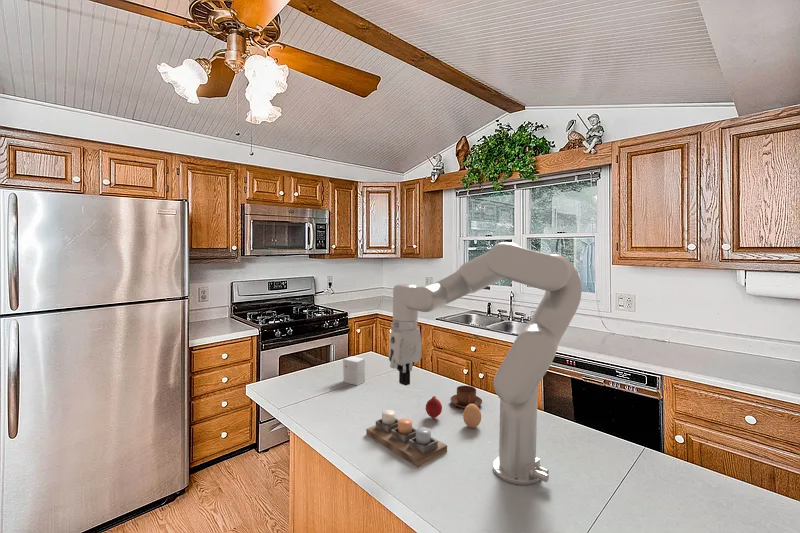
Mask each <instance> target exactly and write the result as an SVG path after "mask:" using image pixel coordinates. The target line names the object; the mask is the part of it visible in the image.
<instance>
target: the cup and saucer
mask: <svg viewBox="0 0 800 533" xmlns="http://www.w3.org/2000/svg"><path fill="white" fill-rule="evenodd" d="M450 402H451V403H452V404H453V406H455V407H458V408H461V409H465V408H466V406H467V405H469V404H475V405H476V406H477V407H478V408H479V407H480V406H481V405H482V403H483V400H482V398H481V397H479V396H477V389H476V388H475V387H474V386H471V385H460V386H458V387H457V386H456V394H454V395H453V396H451V397H450Z"/></svg>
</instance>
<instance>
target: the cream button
mask: <svg viewBox="0 0 800 533" xmlns="http://www.w3.org/2000/svg"><path fill="white" fill-rule="evenodd" d="M395 418H396V412H395V411H394V410H392V409H387V410H383V411H381V419H382V423H383V424H384V425H393V424H395Z"/></svg>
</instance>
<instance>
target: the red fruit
mask: <svg viewBox="0 0 800 533" xmlns="http://www.w3.org/2000/svg"><path fill="white" fill-rule="evenodd" d="M442 411H443V406H442V403H441V401H440V400H439V399H437V396H436V395H432V397H431V399H429V400H428V401H427V402H426V404H425V412H426V413H427V415H428V416H429V417H430V418H431V419H436V418H437V417H439V416H440V415H441V414H442Z"/></svg>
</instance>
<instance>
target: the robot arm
mask: <svg viewBox="0 0 800 533" xmlns="http://www.w3.org/2000/svg"><path fill="white" fill-rule="evenodd" d="M504 279H506V280H509V281H512V282H515V283H519V284H521V285H522V284H523V285H525V286H529V287H532V288H535V289H539V290H541V291H544V295H543V297H542V299H541V300H540V302H539V304H538V306H537V309H536V310H535V311H534V314H533V315H532V317H531V319H530V320H529V322H528V323H527V325H526V326H525V327H524V328H523V329H522V330H521V331H520V332H519V334H518V336H516V338H515V340H514V341H513V343H512V345H511V347H510V349H509V350H508V352H507V354H506V356H505V357H504V359H503V361H502V362H501V364H500V366H499V367H498V370H497V371H496V372H495V375H494V378H493V387H494V388H493V389H494V391H495V394H496V395H497V397H498V398H499V400H500V401H499V404H500V405H499V440H498V441H499V443H498V446H499V447H498V452H499V453H498V457H496V458H495V459H494V460H493V463H492V464H493V465H492V469H493V472H494V473H495V474H496V475H497V476H498V477H499V478H500V479H502V480H503V481H506V482H508V483H510V484H515V485H520V486H527V485H533V484H536V483H538V482H539V481H542V482H545V483H547V482H549V478H550V476H549V471H550V470H549V469H548V468H546V467H543V466H541V464H540V463H541V461H540V458H538V457H537V430H538V429H537V428H538V427H537V420H538V398H539V385H540V383H541V381H542V380H543V378H544V377H545V375H546V373H547V372H548V370H549V368H550V367H551V365H552V363H553V361H554V359H555V357H556V354H557V351H558V349H559V348H558V347H559V344H560V341H561V339H562V338H563V336H564V334H565V332H566V331H567V330H568V328H569V325H570V323H571V322H572V320H573V318H574V316H575V314H576V313H577V311H578V308H579V306H580V302H581V299H582V293H583V292H582V281H581V278H580V275H579V273H578V271H577V270H576V268H575V266H574V265H573V264H572V262H571V261H570V260H569V259H568V258H567V257H565V256H564V255H561V254H558V253H557V254H556V253H555V254H554V253H553V254H548V253H545V252H540V251H536V250H532V249H529V248H525V247H521V246H520V245H519V244H518V243H515V242H510V241H509V242H499V243H496V244H495V245H493V246H492V247H490V249H489V250H488V251H486V252H484V253H482V254H481V255H477V257H475V258H473V259H470V260H469V261H466V262H465V263H462V264H461V265H460V267H459V268H458V269H457V270H456V271H455V272H453V273H451V274H450V275H447V276H446V277H444V278H443V279H439V280H438V281H436V282H433V283H430V284H426V285H423V286H417V285H415V284H412V283H400V284H396V285H394V286H393V288H392V289H393V290H392V322H391V323H390V327H391V332H390V336H389V337H390V338H389V344H388V360H389V362H390V365H389V368H391V369H395V370H397V371H398V373H399V374H398V379H399V380H398V383H399V384H400V385H402V386H408V385H410V384H411V372H412V371H413V366H414V365H416V364H417V363H418V362H419V361H420V360H421V359H422V357H423V355H422V353H423V350H422V349H423V348H422V347H423V346H422V336H421V330H420V328H419V327H418V320H419V319H418V314H419V313H418V312H422V313H429V312H433V311H434V310H437V309H439V308H442V307H443V306H446V305H448V304H450V303H451V302H454V301H456V300H458V299H461V298H462V297H464V296H467V295H469V294H473V293H474V294H475V293H476V292H479V291H481V290H482V289H486V288H487V287H489V286H491V285H493V284H496V283H498V282H499V281H502V280H504Z"/></svg>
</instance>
